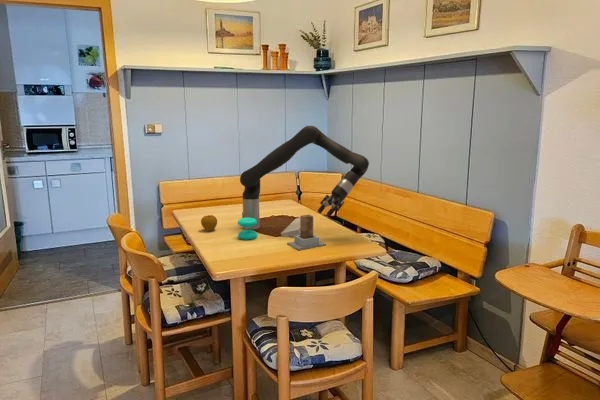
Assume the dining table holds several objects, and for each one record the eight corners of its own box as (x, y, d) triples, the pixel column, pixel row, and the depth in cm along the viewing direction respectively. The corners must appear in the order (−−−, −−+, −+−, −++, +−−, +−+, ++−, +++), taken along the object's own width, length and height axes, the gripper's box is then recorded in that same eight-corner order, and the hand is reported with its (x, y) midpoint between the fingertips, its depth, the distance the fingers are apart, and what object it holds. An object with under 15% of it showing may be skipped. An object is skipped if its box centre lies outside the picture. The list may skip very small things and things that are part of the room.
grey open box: (298, 250, 220) (298, 241, 219) (287, 244, 229) (287, 236, 228) (326, 245, 228) (326, 237, 227) (314, 240, 237) (314, 231, 236)
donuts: (243, 216, 245) (260, 217, 242) (243, 234, 247) (260, 236, 244) (234, 220, 236) (251, 222, 233) (234, 239, 238) (252, 241, 235)
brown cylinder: (304, 245, 225) (304, 217, 223) (300, 243, 229) (300, 215, 226) (313, 243, 228) (313, 216, 225) (308, 241, 231) (309, 214, 228)
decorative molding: (283, 242, 244) (300, 238, 241) (280, 233, 243) (298, 229, 241) (297, 226, 276) (313, 222, 274) (295, 218, 276) (311, 215, 273)
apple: (209, 227, 261) (209, 212, 259) (221, 230, 256) (220, 214, 254) (198, 231, 254) (197, 215, 252) (209, 233, 249) (208, 217, 247)
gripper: (330, 182, 237) (311, 206, 234) (346, 186, 225) (326, 212, 222) (338, 192, 241) (320, 215, 238) (354, 196, 229) (335, 221, 226)
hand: (323, 214), depth 230 cm, fingers open, 8 cm apart
